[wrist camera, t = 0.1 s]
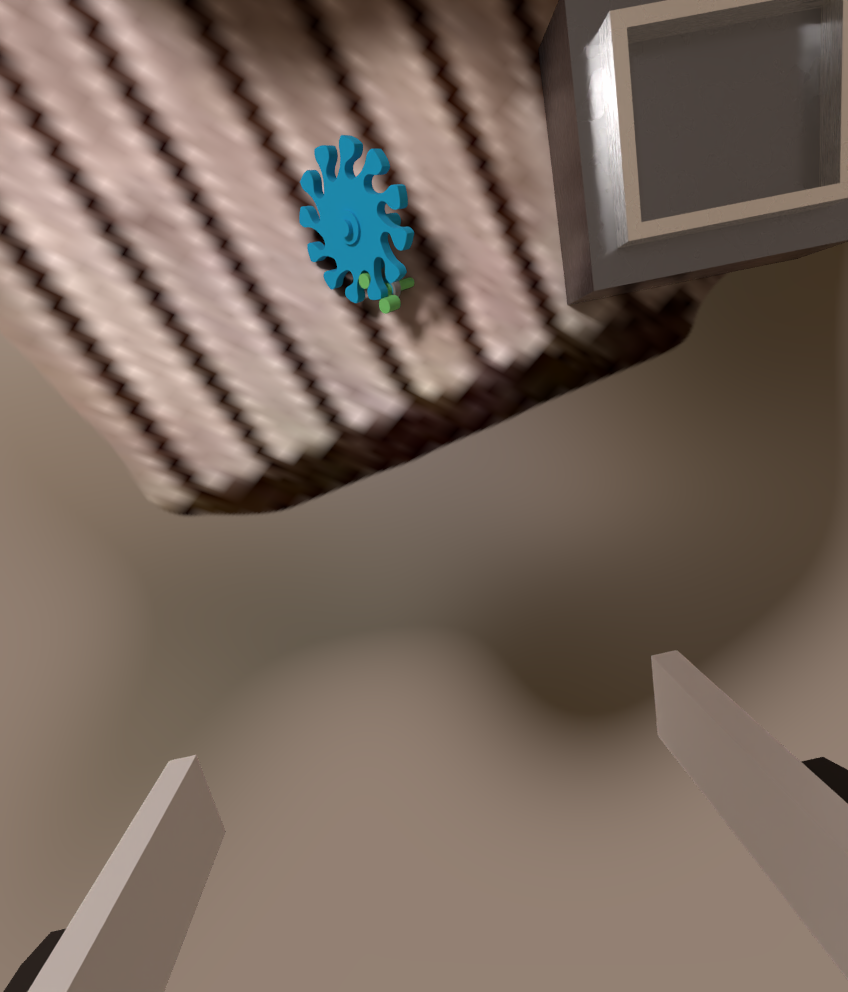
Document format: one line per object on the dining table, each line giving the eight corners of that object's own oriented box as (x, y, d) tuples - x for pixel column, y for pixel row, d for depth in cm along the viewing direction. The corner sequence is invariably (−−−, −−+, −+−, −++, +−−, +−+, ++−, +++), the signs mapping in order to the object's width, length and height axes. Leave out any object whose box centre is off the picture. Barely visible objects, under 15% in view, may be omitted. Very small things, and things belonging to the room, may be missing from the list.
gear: (272, 182, 32) (361, 97, 25) (330, 179, 36) (420, 105, 29) (335, 334, 36) (427, 295, 29) (382, 317, 40) (472, 279, 33)
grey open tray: (538, 49, 33) (573, -34, 27) (797, 0, 33) (891, -93, 27) (567, 304, 37) (603, 285, 31) (797, 258, 37) (879, 230, 31)
